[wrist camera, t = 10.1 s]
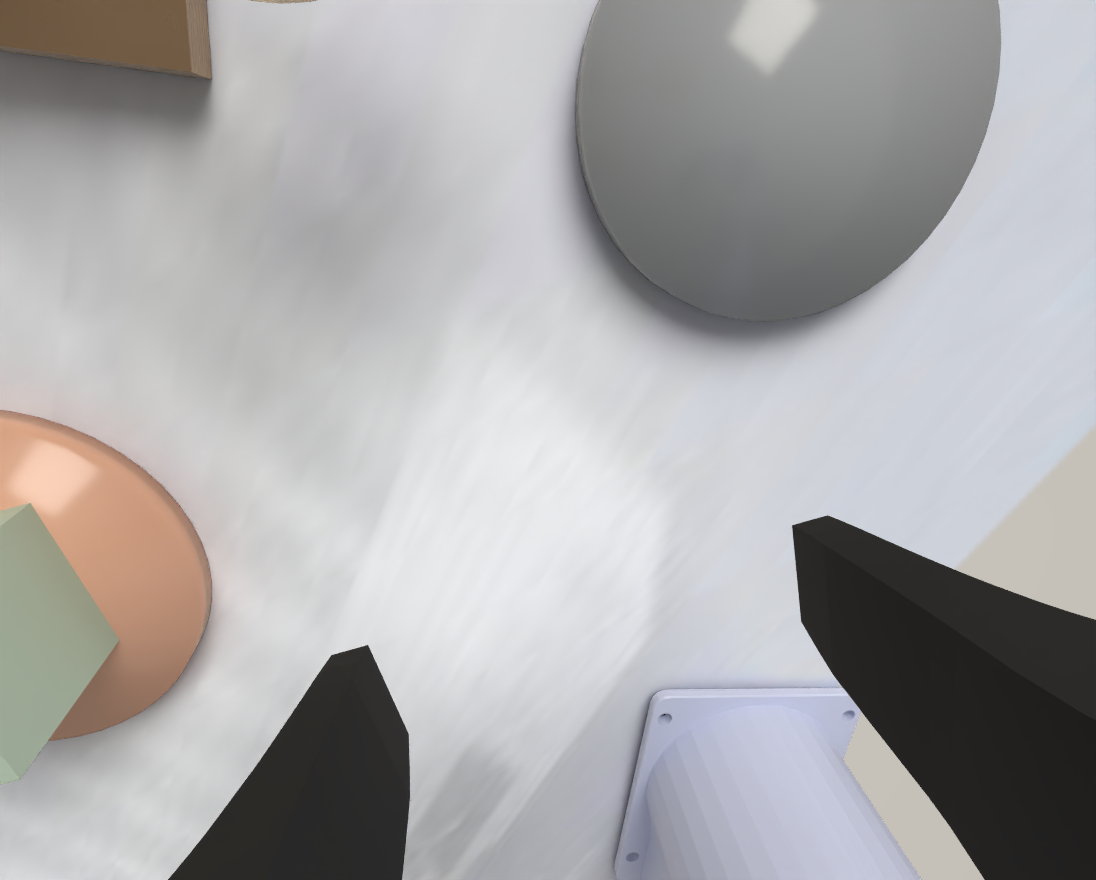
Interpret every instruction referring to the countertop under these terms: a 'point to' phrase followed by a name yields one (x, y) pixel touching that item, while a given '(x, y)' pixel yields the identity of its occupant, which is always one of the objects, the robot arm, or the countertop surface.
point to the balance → (114, 32)
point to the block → (41, 638)
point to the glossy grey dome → (780, 140)
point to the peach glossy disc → (113, 560)
